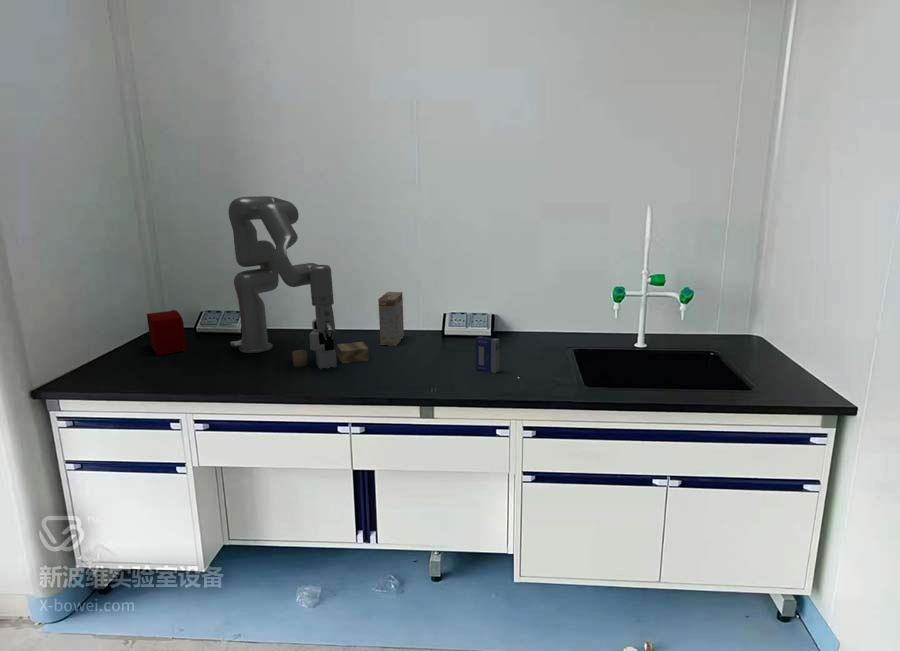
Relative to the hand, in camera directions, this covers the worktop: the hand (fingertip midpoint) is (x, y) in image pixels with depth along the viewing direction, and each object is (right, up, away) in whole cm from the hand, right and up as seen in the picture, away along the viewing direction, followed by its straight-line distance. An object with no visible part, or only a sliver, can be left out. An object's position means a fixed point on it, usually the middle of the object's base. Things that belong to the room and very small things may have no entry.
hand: (326, 347), depth 206 cm
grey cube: (0, -7, +2) cm, 7 cm away
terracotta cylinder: (-10, -7, +3) cm, 13 cm away
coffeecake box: (+20, +1, +33) cm, 39 cm away
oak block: (+8, -5, +10) cm, 14 cm away
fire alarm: (-69, -2, +25) cm, 73 cm away
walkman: (+57, -8, -5) cm, 58 cm away
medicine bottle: (-7, -2, +24) cm, 25 cm away
